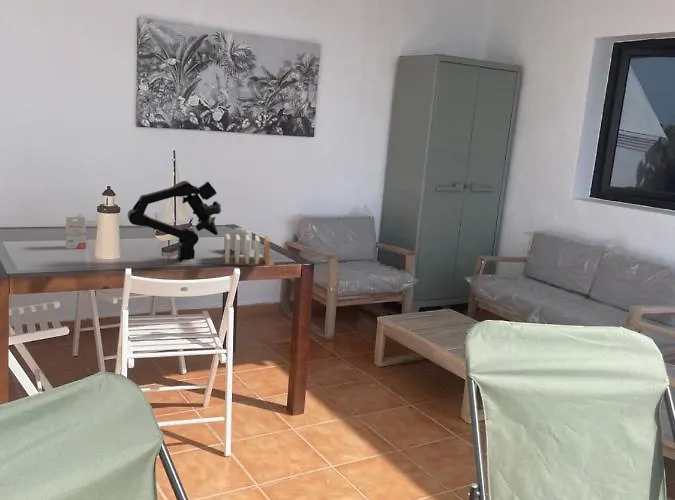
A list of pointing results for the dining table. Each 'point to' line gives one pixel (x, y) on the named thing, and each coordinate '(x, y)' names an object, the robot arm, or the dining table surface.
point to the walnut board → (251, 261)
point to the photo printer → (241, 238)
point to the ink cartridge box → (75, 233)
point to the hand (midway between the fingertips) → (216, 234)
